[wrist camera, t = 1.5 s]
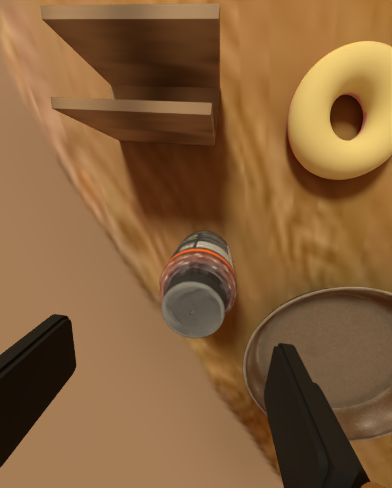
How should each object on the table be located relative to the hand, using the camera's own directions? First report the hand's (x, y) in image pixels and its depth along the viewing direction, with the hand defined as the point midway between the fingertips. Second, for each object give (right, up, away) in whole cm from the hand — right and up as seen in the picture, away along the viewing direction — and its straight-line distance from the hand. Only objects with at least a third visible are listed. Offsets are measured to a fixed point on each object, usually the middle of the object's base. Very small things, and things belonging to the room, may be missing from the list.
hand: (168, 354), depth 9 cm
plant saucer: (+17, -8, +16) cm, 25 cm away
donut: (+14, +16, +9) cm, 24 cm away
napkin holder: (-2, +18, +10) cm, 21 cm away
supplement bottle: (+2, +4, +14) cm, 15 cm away
